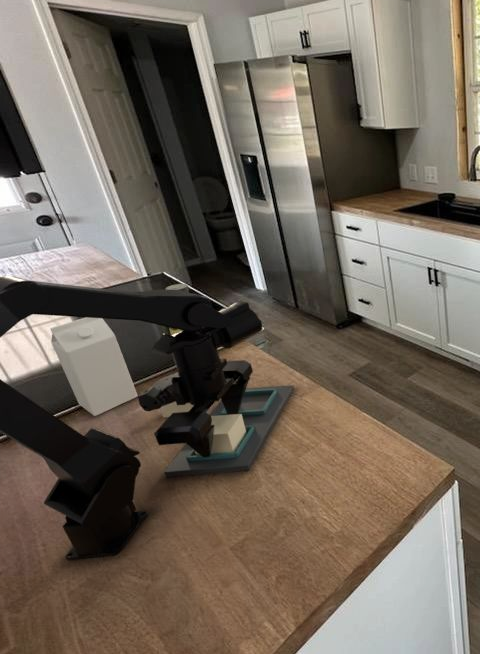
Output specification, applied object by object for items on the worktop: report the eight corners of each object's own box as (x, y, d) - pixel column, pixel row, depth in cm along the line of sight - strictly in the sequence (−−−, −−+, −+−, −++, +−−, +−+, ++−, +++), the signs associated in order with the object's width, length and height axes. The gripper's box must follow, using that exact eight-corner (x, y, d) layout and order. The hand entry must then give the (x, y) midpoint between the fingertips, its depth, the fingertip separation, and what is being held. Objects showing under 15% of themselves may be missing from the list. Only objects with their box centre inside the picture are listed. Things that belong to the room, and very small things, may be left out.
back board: (249, 470, 70) (246, 461, 70) (165, 477, 69) (162, 468, 68) (294, 389, 91) (292, 382, 90) (230, 393, 89) (228, 385, 88)
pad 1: (196, 415, 82) (190, 397, 81) (163, 417, 82) (156, 399, 80) (209, 399, 87) (204, 381, 85) (178, 401, 86) (172, 383, 85)
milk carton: (79, 405, 84) (42, 323, 77) (122, 386, 90) (92, 309, 83) (94, 417, 81) (58, 333, 74) (138, 396, 87) (108, 317, 80)
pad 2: (233, 453, 72) (227, 433, 70) (196, 456, 71) (189, 436, 70) (246, 432, 77) (241, 413, 75) (211, 435, 76) (205, 416, 74)
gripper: (179, 336, 75) (201, 404, 81) (99, 403, 58) (133, 484, 64) (244, 333, 77) (261, 400, 82) (185, 398, 60) (211, 478, 65)
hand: (220, 436), depth 73 cm, fingers open, 9 cm apart
